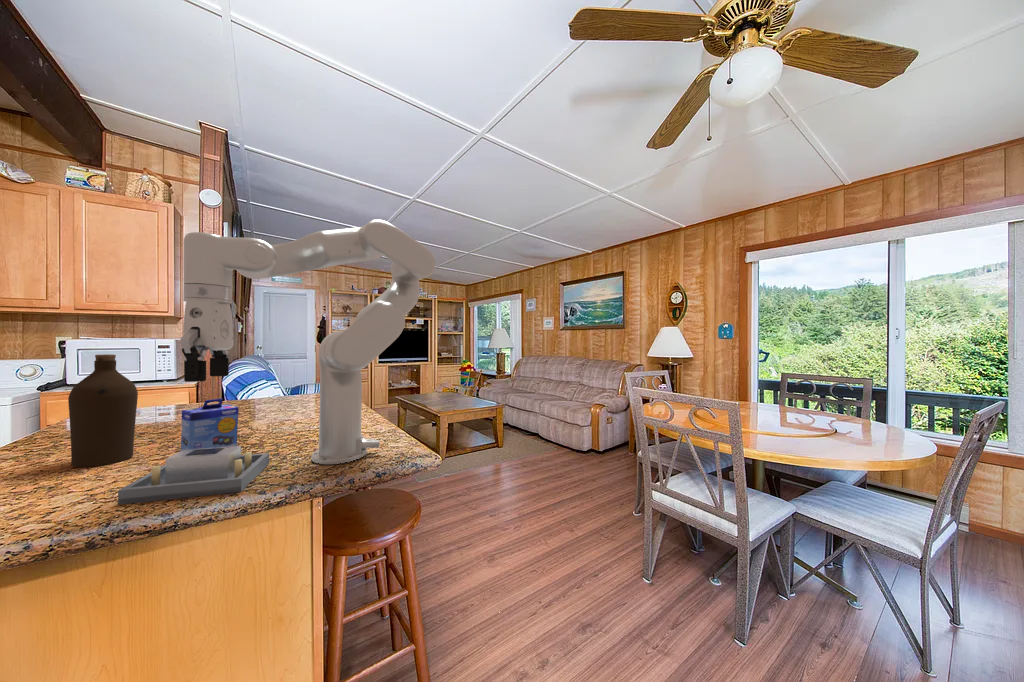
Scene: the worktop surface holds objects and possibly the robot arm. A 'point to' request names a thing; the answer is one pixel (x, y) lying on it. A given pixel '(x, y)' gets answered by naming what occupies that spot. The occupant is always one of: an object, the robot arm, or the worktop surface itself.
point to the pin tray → (192, 483)
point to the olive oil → (102, 416)
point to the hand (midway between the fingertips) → (208, 378)
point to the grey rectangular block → (201, 464)
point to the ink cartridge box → (209, 426)
